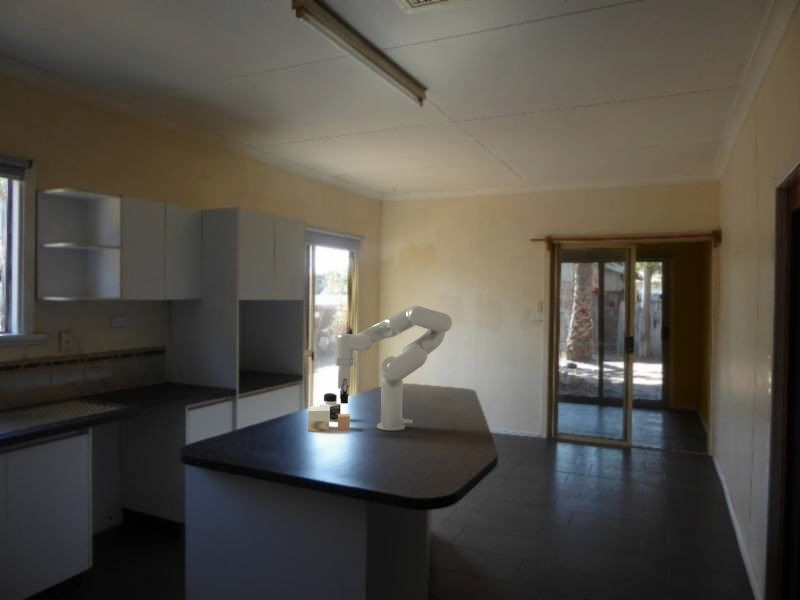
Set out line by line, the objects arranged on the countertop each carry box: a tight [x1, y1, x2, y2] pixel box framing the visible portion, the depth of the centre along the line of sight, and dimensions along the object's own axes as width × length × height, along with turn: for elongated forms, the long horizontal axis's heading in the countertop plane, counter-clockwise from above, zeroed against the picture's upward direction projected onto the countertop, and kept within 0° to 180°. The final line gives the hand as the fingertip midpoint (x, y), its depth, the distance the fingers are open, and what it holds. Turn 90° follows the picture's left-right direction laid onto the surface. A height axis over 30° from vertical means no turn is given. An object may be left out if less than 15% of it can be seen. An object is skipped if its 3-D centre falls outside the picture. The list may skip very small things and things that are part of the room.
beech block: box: [307, 420, 330, 433], centre depth 245 cm, size 9×9×4 cm
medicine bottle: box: [319, 392, 341, 422], centre depth 264 cm, size 7×7×12 cm
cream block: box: [307, 406, 330, 422], centre depth 245 cm, size 9×9×4 cm
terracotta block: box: [337, 413, 351, 431], centre depth 246 cm, size 5×5×6 cm
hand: (343, 401), depth 246 cm, fingers open, 9 cm apart
